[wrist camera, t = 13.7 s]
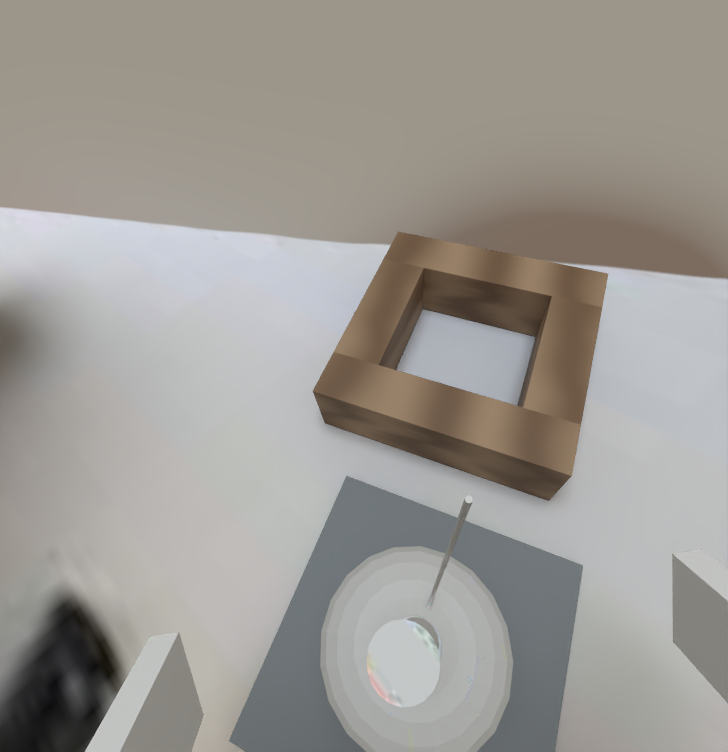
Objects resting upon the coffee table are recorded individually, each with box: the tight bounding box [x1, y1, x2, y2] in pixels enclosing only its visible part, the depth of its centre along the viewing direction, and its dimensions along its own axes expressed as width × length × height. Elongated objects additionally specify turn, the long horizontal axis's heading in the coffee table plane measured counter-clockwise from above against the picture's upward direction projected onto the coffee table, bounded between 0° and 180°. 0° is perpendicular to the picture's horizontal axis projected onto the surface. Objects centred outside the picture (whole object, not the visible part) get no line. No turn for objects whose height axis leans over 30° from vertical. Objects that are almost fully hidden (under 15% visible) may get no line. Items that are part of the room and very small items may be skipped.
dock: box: [313, 232, 608, 501], centre depth 34 cm, size 17×17×5 cm
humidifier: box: [320, 495, 513, 752], centre depth 15 cm, size 8×8×25 cm
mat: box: [229, 476, 583, 752], centre depth 26 cm, size 16×16×1 cm
